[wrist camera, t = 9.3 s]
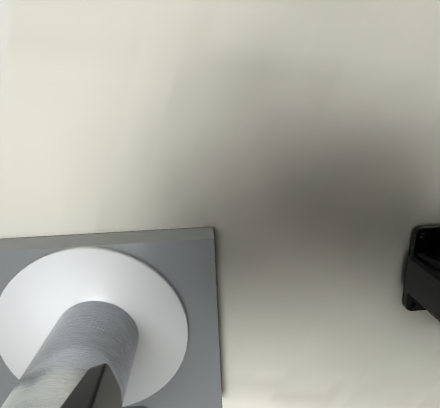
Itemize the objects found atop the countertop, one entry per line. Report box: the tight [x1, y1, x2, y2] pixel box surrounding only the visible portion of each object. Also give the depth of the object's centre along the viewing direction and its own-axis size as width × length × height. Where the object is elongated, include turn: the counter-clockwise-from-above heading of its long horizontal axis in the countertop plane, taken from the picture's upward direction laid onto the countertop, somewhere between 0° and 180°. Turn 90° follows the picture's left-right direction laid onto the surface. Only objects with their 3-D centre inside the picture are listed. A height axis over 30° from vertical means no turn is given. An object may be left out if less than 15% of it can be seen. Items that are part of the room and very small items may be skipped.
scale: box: [0, 227, 222, 408], centre depth 21 cm, size 16×14×6 cm
